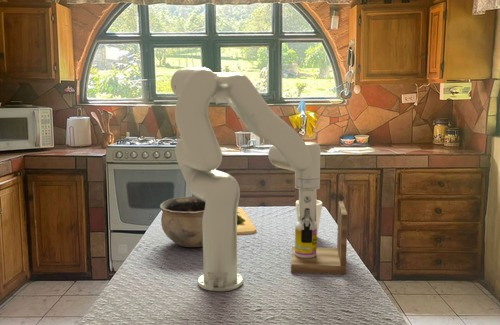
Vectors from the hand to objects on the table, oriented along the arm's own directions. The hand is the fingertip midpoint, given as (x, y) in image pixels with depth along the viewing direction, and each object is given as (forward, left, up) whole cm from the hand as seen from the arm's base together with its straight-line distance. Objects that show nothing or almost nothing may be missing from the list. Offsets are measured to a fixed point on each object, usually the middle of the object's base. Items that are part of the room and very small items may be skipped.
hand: (306, 237), depth 156 cm
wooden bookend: (0, -4, -8) cm, 9 cm away
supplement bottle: (0, 0, -6) cm, 6 cm away
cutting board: (+43, +34, -9) cm, 56 cm away
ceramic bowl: (+15, +39, -8) cm, 43 cm away
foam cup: (+27, -1, -8) cm, 28 cm away
